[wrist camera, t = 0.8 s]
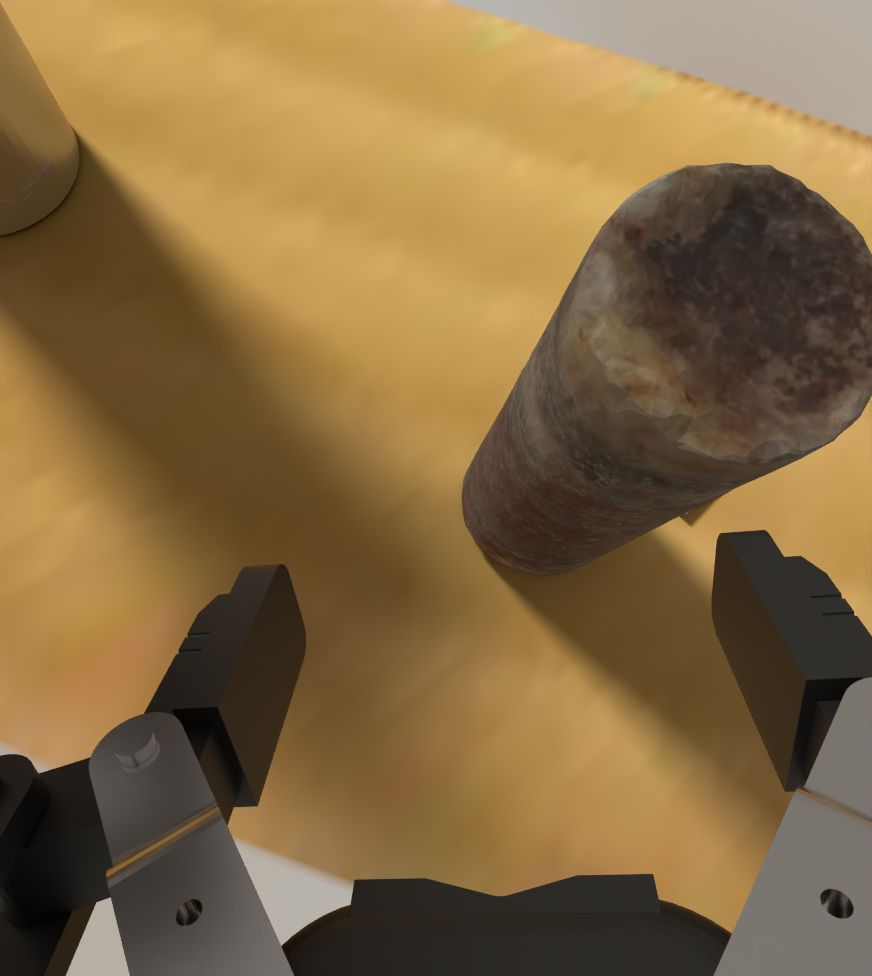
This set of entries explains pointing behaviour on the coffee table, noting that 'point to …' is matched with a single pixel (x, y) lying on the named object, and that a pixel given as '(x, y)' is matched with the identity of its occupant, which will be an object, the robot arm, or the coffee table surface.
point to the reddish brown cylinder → (677, 366)
